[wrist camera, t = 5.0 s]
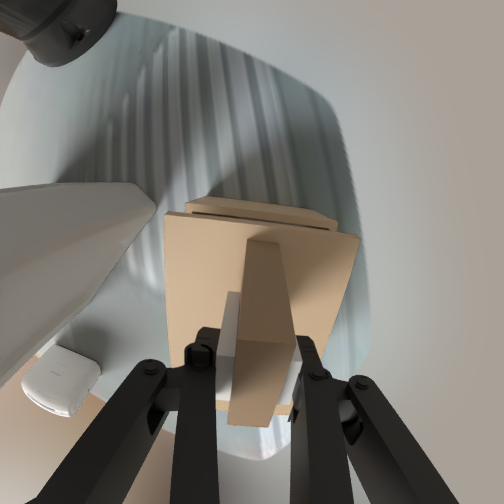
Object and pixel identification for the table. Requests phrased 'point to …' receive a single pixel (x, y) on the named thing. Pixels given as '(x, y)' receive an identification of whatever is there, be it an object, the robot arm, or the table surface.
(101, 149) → the table surface
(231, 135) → the table surface
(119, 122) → the table surface
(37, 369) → the photo printer
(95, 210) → the grey tapered bin
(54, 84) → the table surface
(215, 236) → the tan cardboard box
